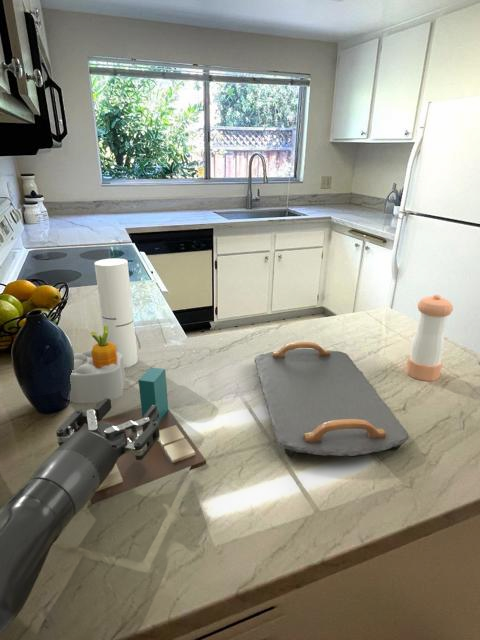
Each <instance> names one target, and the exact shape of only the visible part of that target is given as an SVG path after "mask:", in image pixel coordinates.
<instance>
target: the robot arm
mask: <svg viewBox="0 0 480 640" xmlns="http://www.w3.org/2000/svg"><path fill="white" fill-rule="evenodd" d="M111 402H112V400H111V401H110V399H108V398H105V399H104V400H103V401H100V402H97V404H95V406H94V407H93V408H89V409H87V410H86V411H83V410H82V409H76V410H74V411H73V412H72V413H71V414H70V415H69V416H68V417H67V419H65V421H64V422H63V423H61V425H59V427H58V428H57V429H56V430H55V432H56V439H57V444H58V446H59V447H57V448H56V449H55V450H54V452H52V453H51V455H49V456H48V457H47V458H46V459H45V461H43V462H42V464H41V465H39V467H37V468H36V470H35V471H34V473H33V474H32V475H31V477H30V478H29V479H28V480H27V481H26V482H25V483H24V484H23V485H22V486H21V488H19V490H17V491H16V493H15V494H14V495H12V496H11V498H9V499H8V500H7V501H6V502H5V504H4V505H3V506H2V507H1V508H0V634H1V633H2V632H3V631H5V630H6V628H8V626H10V624H12V622H14V620H15V619H16V618H17V616H18V615H19V614H20V612H21V611H22V609H23V608H24V607H25V604H26V602H27V601H28V599H29V597H30V595H31V593H32V590H33V589H34V587H35V584H36V582H37V579H38V577H39V575H40V574H41V572H42V569H43V566H45V565H44V564H45V562H46V560H47V557H48V555H49V553H50V550H51V548H52V546H53V545H54V544H55V542H56V541H57V540H58V538H59V537H60V536H61V535H62V533H63V532H64V531H65V530H66V528H67V527H68V525H69V524H70V523H71V521H72V520H73V519H74V518H75V516H77V514H78V513H80V511H81V510H83V508H84V507H85V506H86V505H87V504H88V503H89V502H90V498H91V497H92V496H93V494H94V493H95V492H96V491H97V489H98V488H99V487H100V485H101V484H102V483H103V481H104V480H105V479H106V477H107V476H108V475H109V473H110V472H111V471H112V469H113V468H114V466H115V464H116V461H117V459H118V458H119V457H120V456H122V455H124V454H125V453H131V454H135V459H136V460H142V459H143V458H144V457H145V456H146V454H147V453H148V452H149V450H150V449H151V448H152V446H153V445H154V444H155V443H156V441H157V440H158V439H159V437H160V433H159V423H158V422H157V420H158V419H159V409H157V406H156V405H152V406H151V407H150V409H149V410H148V411H147V412H146V414H145V415H144V416H143V418H142V419H140V420H137V421H135V422H133V421H132V420H130V421H127V422H125V423H123V424H111V423H108V422H104V421H103V422H102V423H97V422H96V421H100V420H101V419H104V417H105V416H106V415H107V414H108V413H109V412H110V411H111V410H112V403H111ZM84 424H88V427H87V428H84V429H82V430H80V429H81V427H82V426H83V425H84ZM141 426H142V430H140V431H137V429H138V428H139V427H141ZM128 429H129V433H130V436H129V437H128V438H127V437H126V433H125V431H126V430H128Z"/></svg>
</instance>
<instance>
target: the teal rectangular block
mask: <svg viewBox="0 0 480 640" xmlns="http://www.w3.org/2000/svg"><path fill="white" fill-rule="evenodd" d="M138 389H139V397H140V398H139V399H140V408H141V409H142V418H143V416H144V415H145V414H146V412H147V411H148V410H149V409H150V407H151V406H152V405H156V406H157V409H159V419H158V420H157V422H158V423H159V422H160V420H161V419H162V418H163V416H164V415H165V413H166V412H167V411H168V409H169V401H168V399H169V398H168V389H167V375H166V368H159V367H151V366H150V367H149V368H148V370H146V371H145V373H144V374H143V375H142V376H141V377H140V378H139V379H138Z"/></svg>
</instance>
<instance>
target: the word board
mask: <svg viewBox="0 0 480 640" xmlns="http://www.w3.org/2000/svg"><path fill="white" fill-rule="evenodd" d="M140 419H142V409H141V407H139V408H135V409H132V410H128V411H125V412H122V413H118V414H115V415H112V416H108V417H105V418H104V417H103V418H102V419H101V420H100V421H96V422H97V423H102V422H103V421H104V422H108V423H111V424H123V423H125V422H127V421H130V420H132V421H133V422H135V421H137V420H140ZM87 427H88V424H84V425H83V426H82V427H81V429H80V430H82V429H84V428H87ZM140 430H142V426H141V427H139V428H138V429H137V431H140ZM125 433H126V437H127V438H128V437H129V436H130V433H129V429H128V430H126V431H125ZM159 433H160V437H159V439H158V440H157V441H156V443H155V444H154V445H153V446H152V448H151V449H150V450H149V452H148V453H147V454H146V456H145V457H144V458H143V459H142V460H136V459H135V454H131V453H125V454H124V455H122V456H120V457H119V458H118V459H117V461H116V464H115V466H114V468H113V469H112V471H111V472H110V473H109V475H108V476H107V477H106V479H105V480H104V481H103V483H102V484H101V485H100V487H99V488H98V489H97V491H96V492H95V493H94V494H93V496H92V497H91V498H90V500H89V502H90V505H94V504H97V503H99V502H102V501H104V500H107V499H109V498H112V497H115V496H117V495H121V494H123V493H125V492H127V491H130V490H133V489H135V488H138V487H141V486H143V485H146V484H148V483H151V482H153V481H156V480H159V479H161V478H164V477H166V476H169V475H171V474H175V473H176V472H179V471H182V470H185V469H188V468H189V467H190V468H189V470H188V471H192V470H194V469H197V468H199V467H202V466H204V465H206V464H207V459H206V457H204V455H203V454H202V452H201V451H200V450H199V448H198V447H197V446H196V444H195V443H194V442H193V440H192V439H191V438H190V436H189V435H188V433H187V432H186V430H185V429H184V428H183V426H182V425H181V424H180V423H179V421H178V420H177V418H176V417H175V415H174V414H173V412H172V411H171V410H170V408H168V411H167V412H166V413H165V415H164V416H163V418H162V419H161V420H160V422H159Z"/></svg>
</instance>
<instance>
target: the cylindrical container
mask: <svg viewBox="0 0 480 640" xmlns="http://www.w3.org/2000/svg"><path fill="white" fill-rule="evenodd" d="M93 266H94V270H95V279H96V285H97V292H98V293H97V294H98V301H99V309H100V315H101V324H102V329H103V330H102V331H103V332H104V326H105V325H106V326H108V336H107V342H110V343H113V344H114V345H115V346H116V352H118V353H121V354H122V355H123V362H124V369H126V368H130V367H132V366H134V365H136V364H137V363H138V361H139V358H138V347H137V339H136V329H135V327H136V326H135V320H134V309H133V300H132V299H133V298H132V290H131V281H130V280H131V279H130V271H129V261H128V260H127V259H126V258H118V257H117V258H116V257H115V258H113V257H112V258H103V259H100V260H97V261H94V265H93Z"/></svg>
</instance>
